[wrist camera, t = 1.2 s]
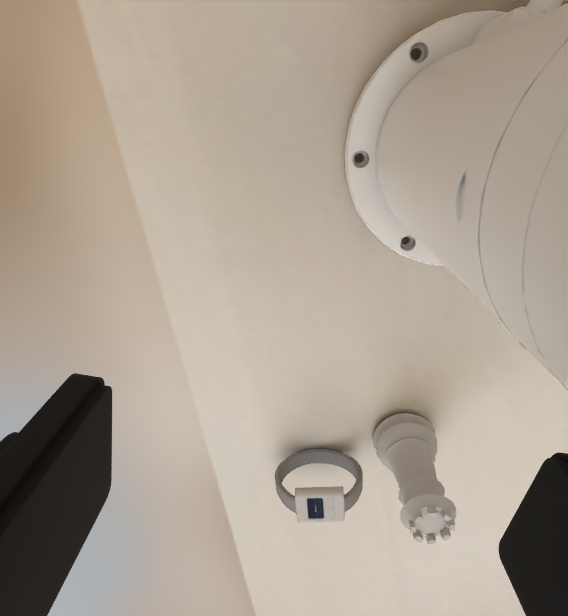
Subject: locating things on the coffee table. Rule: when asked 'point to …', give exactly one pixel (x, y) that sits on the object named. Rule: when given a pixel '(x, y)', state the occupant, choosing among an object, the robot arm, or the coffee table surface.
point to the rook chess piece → (415, 475)
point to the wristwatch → (319, 500)
